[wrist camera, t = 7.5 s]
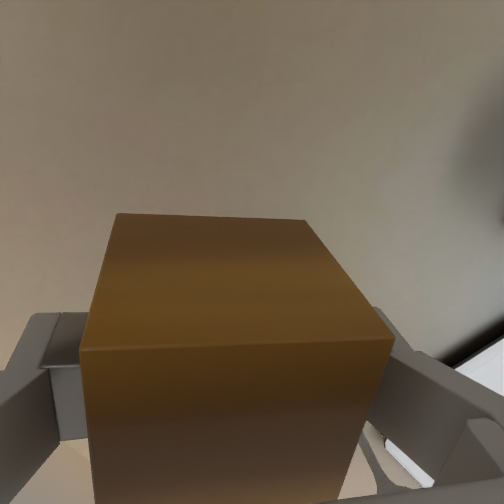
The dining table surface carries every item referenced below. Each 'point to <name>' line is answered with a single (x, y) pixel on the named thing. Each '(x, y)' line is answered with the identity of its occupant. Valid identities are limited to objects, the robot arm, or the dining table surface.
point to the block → (225, 363)
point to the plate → (478, 369)
